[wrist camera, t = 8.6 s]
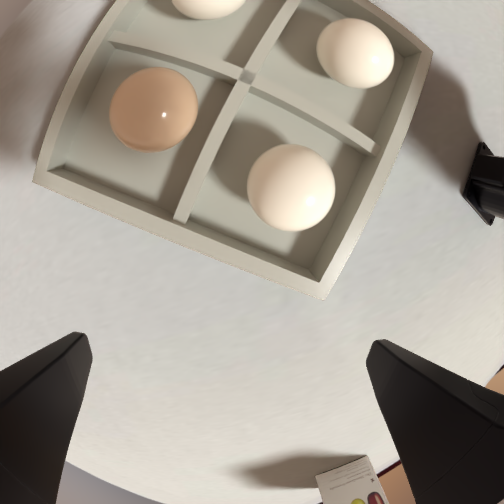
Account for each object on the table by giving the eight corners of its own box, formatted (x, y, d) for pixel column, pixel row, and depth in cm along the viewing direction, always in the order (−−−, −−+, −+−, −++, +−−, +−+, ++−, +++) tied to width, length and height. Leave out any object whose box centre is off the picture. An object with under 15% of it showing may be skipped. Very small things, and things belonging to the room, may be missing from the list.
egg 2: (329, 167, 17) (365, 171, 12) (297, 232, 18) (323, 257, 14) (263, 132, 16) (280, 122, 11) (230, 202, 17) (234, 218, 12)
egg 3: (378, 59, 15) (417, 40, 10) (357, 107, 16) (397, 96, 11) (321, 23, 13) (349, -8, 9) (295, 71, 15) (320, 45, 10)
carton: (411, 60, 15) (433, 51, 13) (310, 281, 20) (323, 301, 17) (182, -46, 11) (179, -67, 8) (55, 177, 15) (32, 181, 13)
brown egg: (162, 84, 15) (197, 46, 11) (186, 147, 16) (228, 123, 13) (93, 103, 12) (109, 60, 9) (117, 174, 14) (140, 152, 10)
